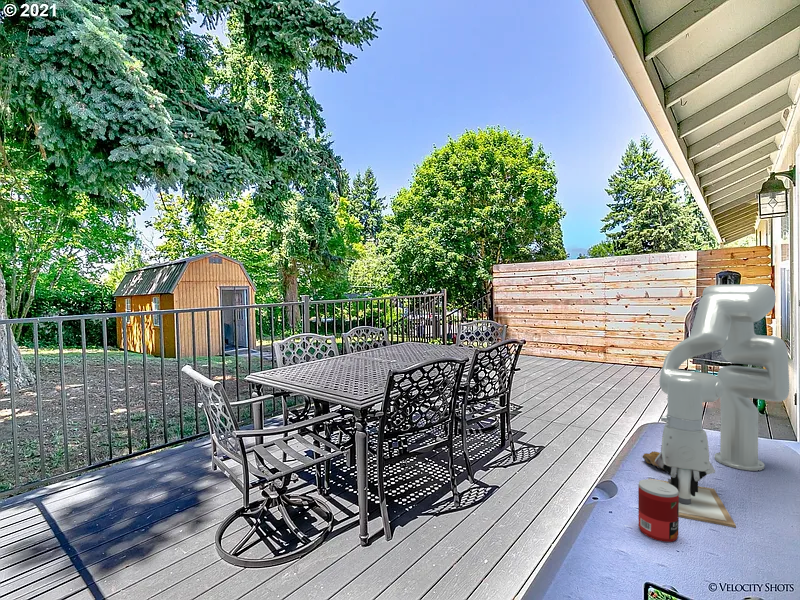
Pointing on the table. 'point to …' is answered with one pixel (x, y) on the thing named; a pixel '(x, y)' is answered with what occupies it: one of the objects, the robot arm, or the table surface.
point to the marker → (684, 485)
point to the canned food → (658, 510)
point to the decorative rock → (652, 458)
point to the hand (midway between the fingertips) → (683, 491)
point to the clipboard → (705, 507)
